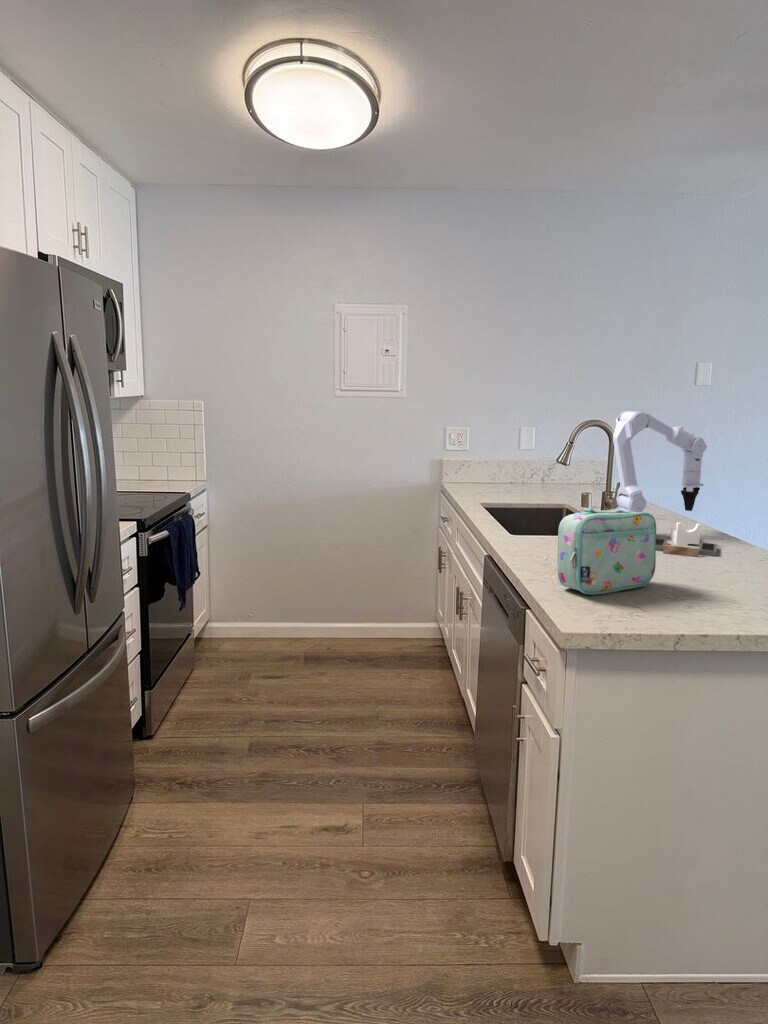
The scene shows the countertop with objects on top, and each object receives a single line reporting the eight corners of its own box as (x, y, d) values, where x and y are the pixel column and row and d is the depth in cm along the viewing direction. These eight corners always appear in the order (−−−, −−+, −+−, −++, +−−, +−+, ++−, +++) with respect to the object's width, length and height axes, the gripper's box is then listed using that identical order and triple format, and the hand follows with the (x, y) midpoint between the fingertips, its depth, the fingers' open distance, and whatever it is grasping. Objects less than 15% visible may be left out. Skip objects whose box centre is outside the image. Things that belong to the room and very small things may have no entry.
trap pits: (647, 549, 217) (647, 544, 217) (651, 541, 228) (651, 537, 228) (715, 556, 208) (716, 551, 208) (716, 548, 219) (717, 543, 219)
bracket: (699, 547, 222) (701, 525, 221) (676, 545, 224) (678, 523, 223) (691, 539, 234) (693, 518, 233) (670, 537, 236) (671, 516, 235)
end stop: (663, 553, 212) (663, 545, 212) (663, 552, 213) (664, 544, 213) (697, 556, 208) (698, 549, 207) (697, 555, 209) (698, 548, 209)
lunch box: (576, 600, 164) (581, 514, 160) (549, 589, 173) (554, 507, 169) (658, 588, 174) (664, 507, 171) (629, 578, 184) (634, 501, 180)
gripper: (703, 473, 227) (700, 513, 229) (705, 469, 240) (702, 506, 242) (681, 472, 230) (678, 511, 233) (683, 468, 243) (681, 505, 245)
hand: (689, 508), depth 238 cm, fingers open, 7 cm apart
